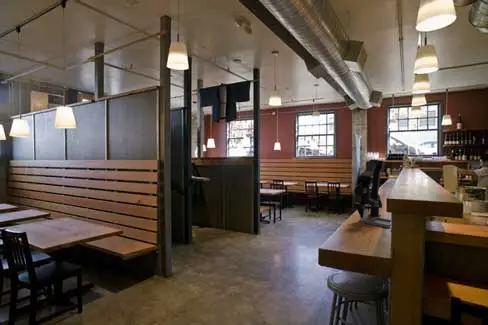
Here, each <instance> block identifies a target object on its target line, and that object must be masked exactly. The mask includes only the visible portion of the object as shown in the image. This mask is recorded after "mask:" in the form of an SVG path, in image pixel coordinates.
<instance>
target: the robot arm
mask: <svg viewBox="0 0 488 325" xmlns="http://www.w3.org/2000/svg"><path fill="white" fill-rule="evenodd" d="M385 163H386V162H385V161H384V160H381V159H373V158H372V159H369V162H368V165H367V167H366V168H365V171H363V172H361V173H360V175H359V176H358V178H357V181H356V185H357V186H356V187H355V188H354V194H355V195H357V196H358V197H359V200H358V202H354V203H353V204H352V208H355V209H356V210H357V212H358V214H359V218H360V217H361V218H363V213H364V210H365V209H366V208H368V216H371V217H375V218H376V217H380V216H381V214H380V209H382V208H383V202H382V199H381V195H380V193H379V191H380V182H381V173H382V172H383V171H384V169H385V166H386V164H385ZM370 187H371V190H370ZM370 191H371V192H370ZM369 212H370V213H369Z"/></svg>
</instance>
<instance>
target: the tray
mask: <svg viewBox="0 0 488 325" xmlns="http://www.w3.org/2000/svg"><path fill="white" fill-rule="evenodd" d="M391 220H392V219H388V218H384V217H383V218H382V217H379V216H377V217H376V216H375V217H373V218H372V217H371V218H368V220H365V221H364V224H365V225H370V224H371V225H370V226H374V225H377V226H376V227H379V226H382V227H381V228H384V227H385V229H391V228H390V226H391V224H390V222H391Z"/></svg>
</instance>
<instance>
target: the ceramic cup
mask: <svg viewBox="0 0 488 325" xmlns="http://www.w3.org/2000/svg"><path fill="white" fill-rule="evenodd" d="M368 214H369V212H368V208H366V209H365V210H364V213H363V218H361V217H360V216H359V221H360V222H365V220H368V219H369V215H368Z"/></svg>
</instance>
